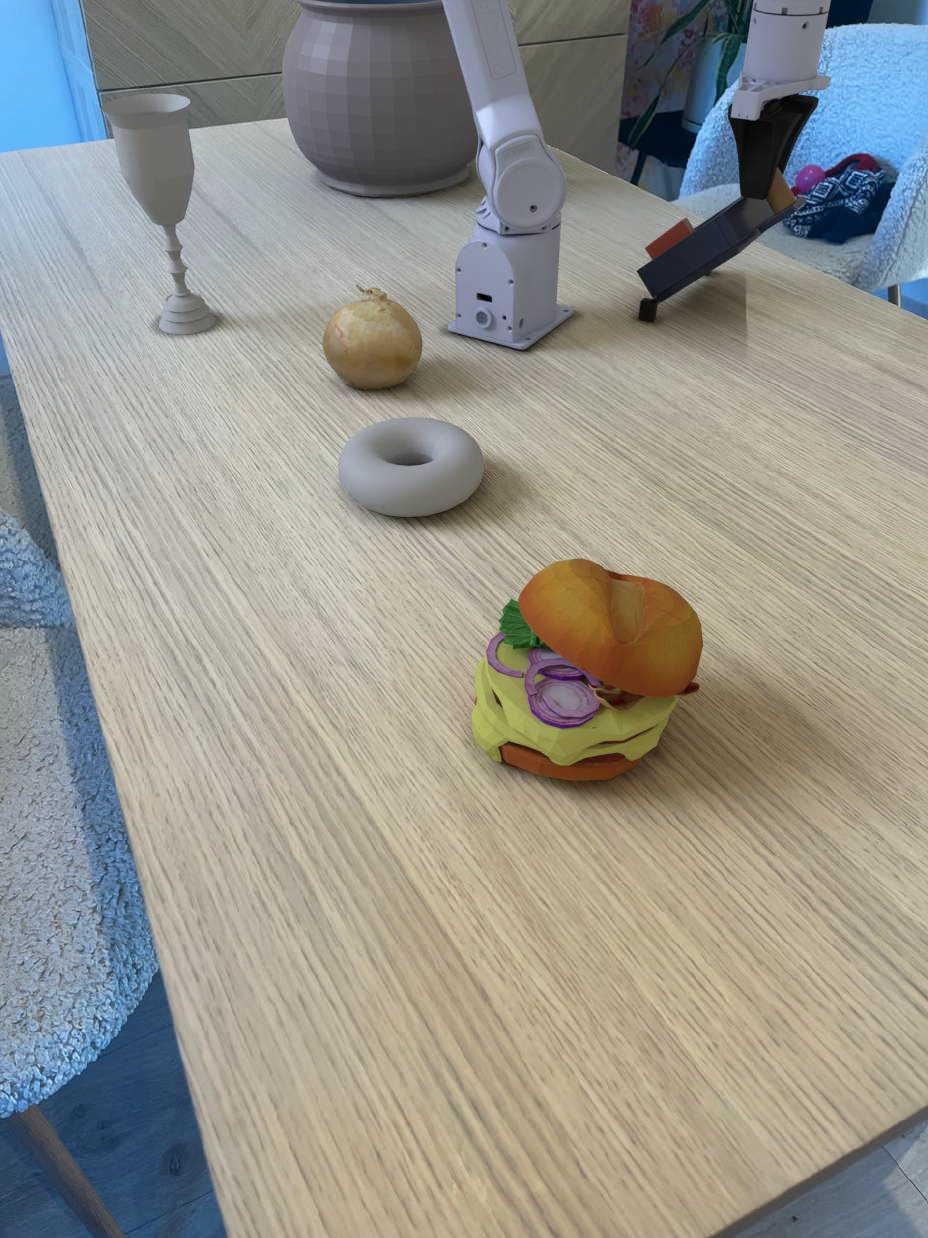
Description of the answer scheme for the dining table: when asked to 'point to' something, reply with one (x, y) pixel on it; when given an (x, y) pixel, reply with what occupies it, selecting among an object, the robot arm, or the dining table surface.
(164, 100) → the chalice
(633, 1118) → the dining table surface
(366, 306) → the onion
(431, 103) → the grey pot
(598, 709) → the cheeseburger
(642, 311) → the black bar
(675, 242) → the block
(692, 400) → the dining table surface
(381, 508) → the donut
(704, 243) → the dark navy tray
